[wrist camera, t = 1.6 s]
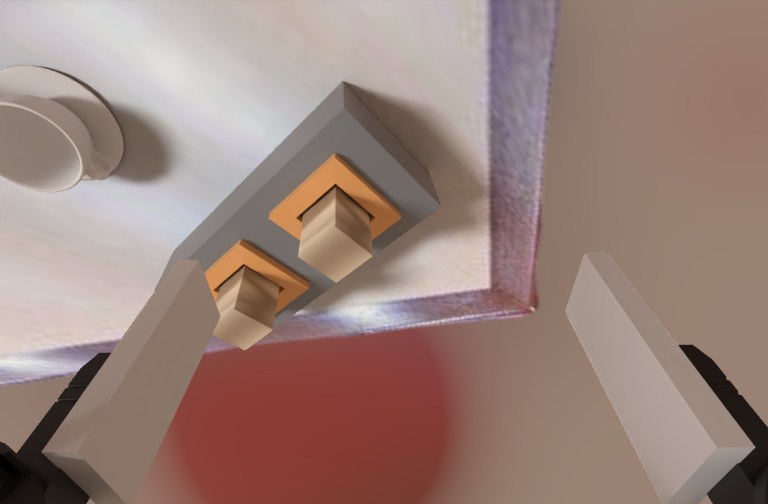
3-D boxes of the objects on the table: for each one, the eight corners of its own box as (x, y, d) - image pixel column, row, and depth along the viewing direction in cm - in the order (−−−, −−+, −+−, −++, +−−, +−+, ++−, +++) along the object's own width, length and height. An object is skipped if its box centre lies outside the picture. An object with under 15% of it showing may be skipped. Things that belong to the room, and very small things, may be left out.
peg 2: (303, 207, 35) (298, 256, 30) (335, 179, 33) (335, 226, 28) (336, 232, 37) (336, 282, 32) (367, 207, 35) (373, 256, 30)
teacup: (-22, 137, 34) (-64, 163, 30) (-1, 34, 29) (-48, 51, 26) (107, 195, 38) (84, 224, 35) (142, 114, 34) (119, 138, 30)
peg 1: (222, 278, 39) (206, 331, 34) (247, 256, 38) (234, 309, 33) (256, 297, 42) (245, 350, 37) (281, 277, 40) (273, 329, 35)
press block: (173, 250, 43) (151, 296, 38) (343, 81, 33) (344, 112, 28) (264, 302, 50) (255, 347, 44) (428, 172, 40) (442, 211, 34)
